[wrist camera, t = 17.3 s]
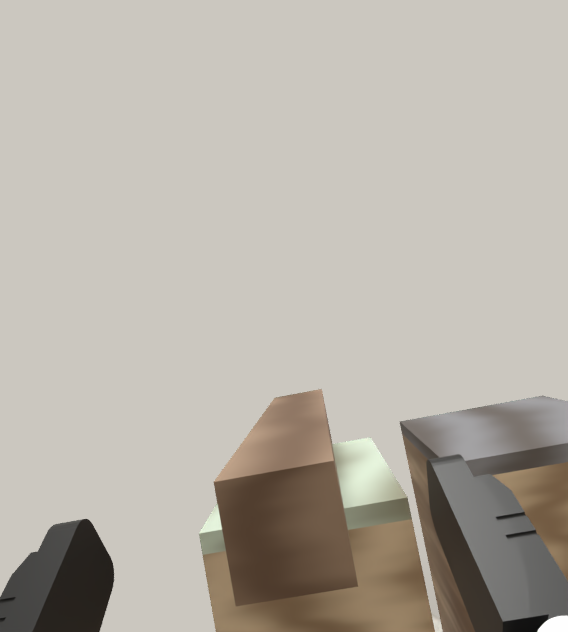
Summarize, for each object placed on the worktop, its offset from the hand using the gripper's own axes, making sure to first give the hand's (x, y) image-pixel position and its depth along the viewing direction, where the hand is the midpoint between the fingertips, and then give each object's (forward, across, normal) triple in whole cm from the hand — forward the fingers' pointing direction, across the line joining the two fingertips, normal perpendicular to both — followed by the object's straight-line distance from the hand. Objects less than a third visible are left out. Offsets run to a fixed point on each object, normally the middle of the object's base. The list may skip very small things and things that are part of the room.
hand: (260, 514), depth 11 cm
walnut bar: (+12, 0, +12) cm, 17 cm away
